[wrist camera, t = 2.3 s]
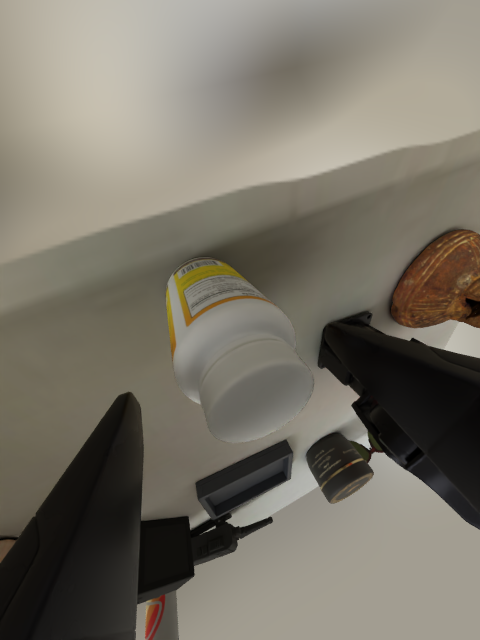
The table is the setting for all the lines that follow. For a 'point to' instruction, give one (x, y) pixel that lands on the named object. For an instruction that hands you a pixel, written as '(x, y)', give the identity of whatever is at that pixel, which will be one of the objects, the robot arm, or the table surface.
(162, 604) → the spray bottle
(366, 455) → the sunglasses
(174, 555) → the digital camera
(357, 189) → the table surface
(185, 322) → the supplement bottle
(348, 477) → the jar
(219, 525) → the walkie-talkie
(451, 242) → the bell
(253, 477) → the tray
